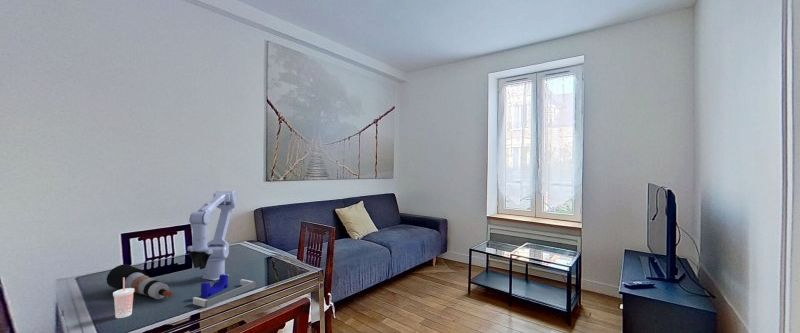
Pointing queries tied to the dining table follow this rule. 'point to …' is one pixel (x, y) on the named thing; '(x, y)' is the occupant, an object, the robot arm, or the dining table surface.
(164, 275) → the dining table surface
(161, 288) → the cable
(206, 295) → the cable clip
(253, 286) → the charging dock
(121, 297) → the beverage cup
